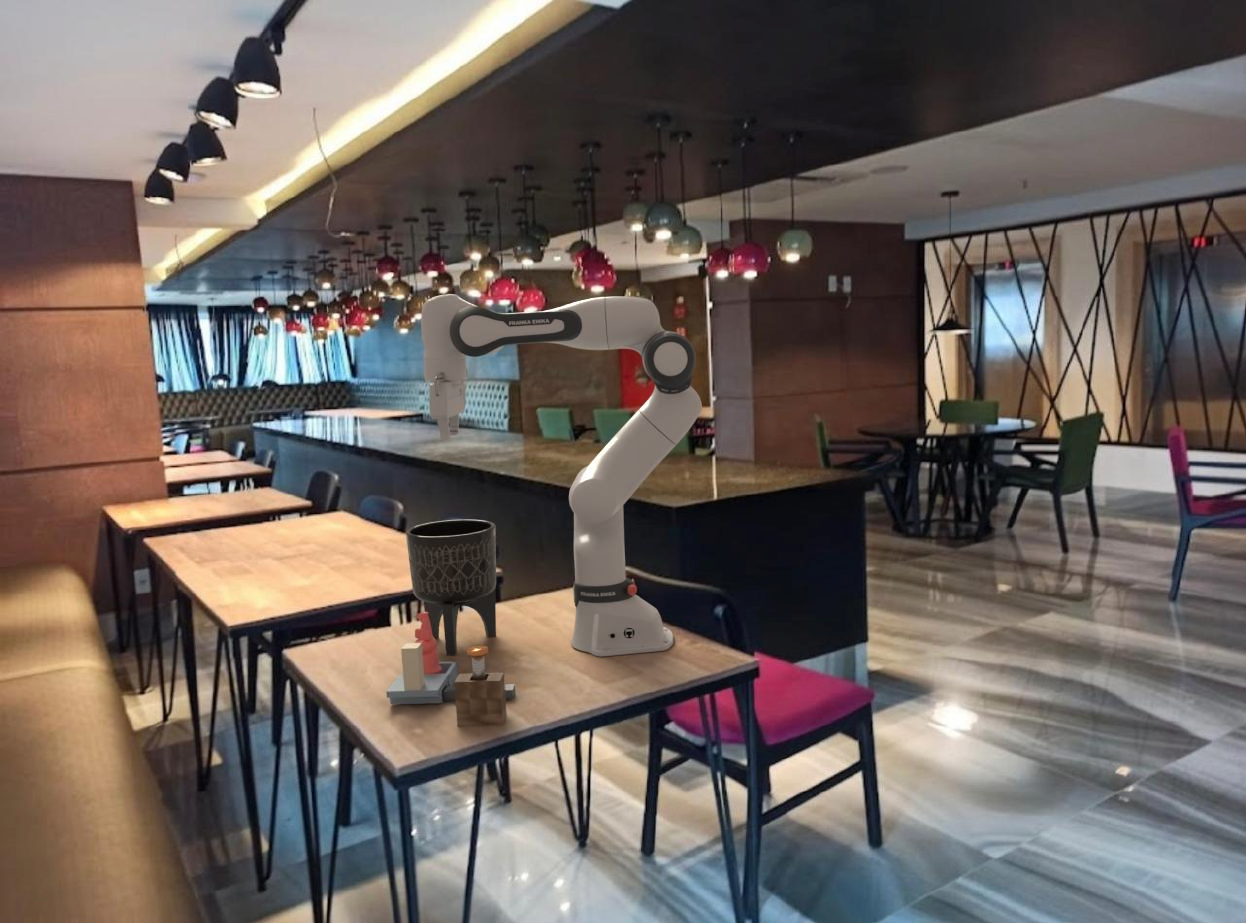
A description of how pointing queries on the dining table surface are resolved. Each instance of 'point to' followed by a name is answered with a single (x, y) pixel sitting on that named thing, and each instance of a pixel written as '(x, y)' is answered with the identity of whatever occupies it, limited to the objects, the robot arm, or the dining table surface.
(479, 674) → the button
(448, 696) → the rail
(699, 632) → the dining table surface
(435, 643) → the figurine
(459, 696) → the box
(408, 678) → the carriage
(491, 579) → the planter
